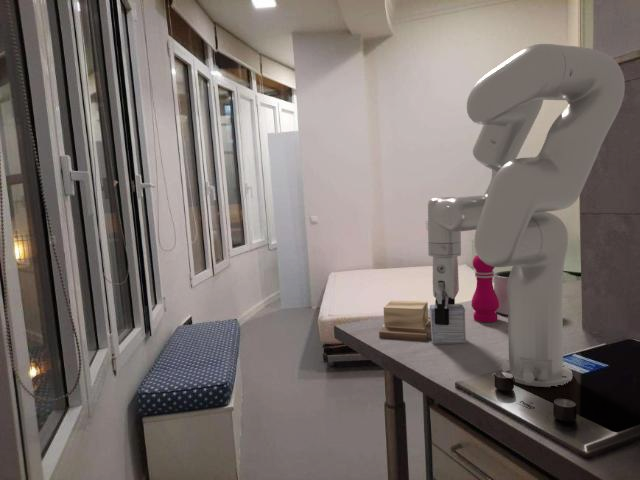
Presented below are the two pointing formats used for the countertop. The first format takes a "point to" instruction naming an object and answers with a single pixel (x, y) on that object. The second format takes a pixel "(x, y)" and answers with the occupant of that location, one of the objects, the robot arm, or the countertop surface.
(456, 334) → the medicine box
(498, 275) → the planter
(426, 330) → the board
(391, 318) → the oak block
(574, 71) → the robot arm
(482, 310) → the pepper mill
